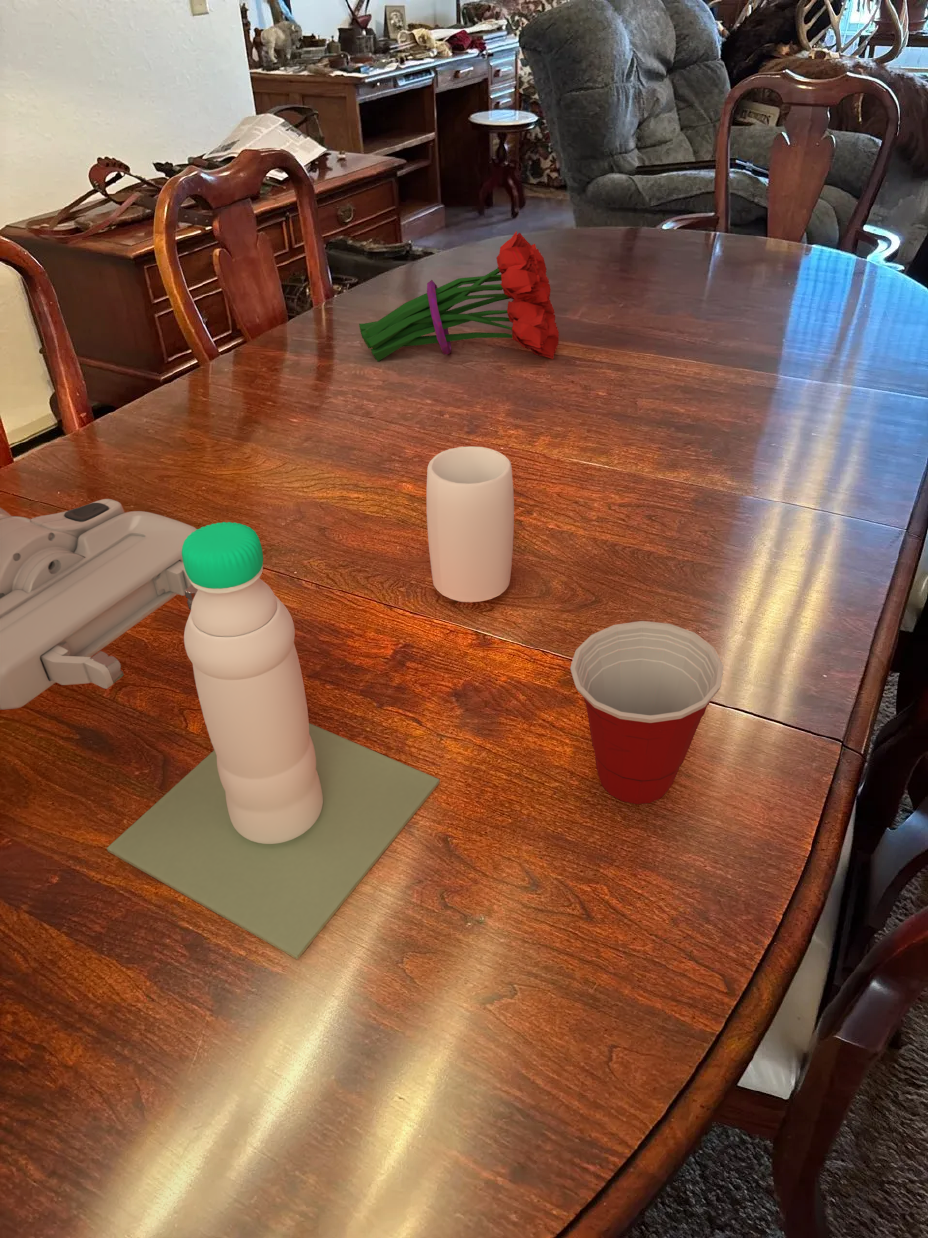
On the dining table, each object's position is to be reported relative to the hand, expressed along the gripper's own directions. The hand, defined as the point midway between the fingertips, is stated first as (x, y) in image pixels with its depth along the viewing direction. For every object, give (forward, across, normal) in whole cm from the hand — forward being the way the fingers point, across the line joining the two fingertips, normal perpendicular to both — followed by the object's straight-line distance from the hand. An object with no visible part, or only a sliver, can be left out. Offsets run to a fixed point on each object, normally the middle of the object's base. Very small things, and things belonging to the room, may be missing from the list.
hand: (164, 636), depth 65 cm
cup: (+6, +33, +15) cm, 36 cm away
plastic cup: (+30, +17, +15) cm, 37 cm away
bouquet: (-27, +86, +15) cm, 91 cm away
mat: (+8, 0, +14) cm, 17 cm away
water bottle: (+8, 0, +14) cm, 16 cm away
